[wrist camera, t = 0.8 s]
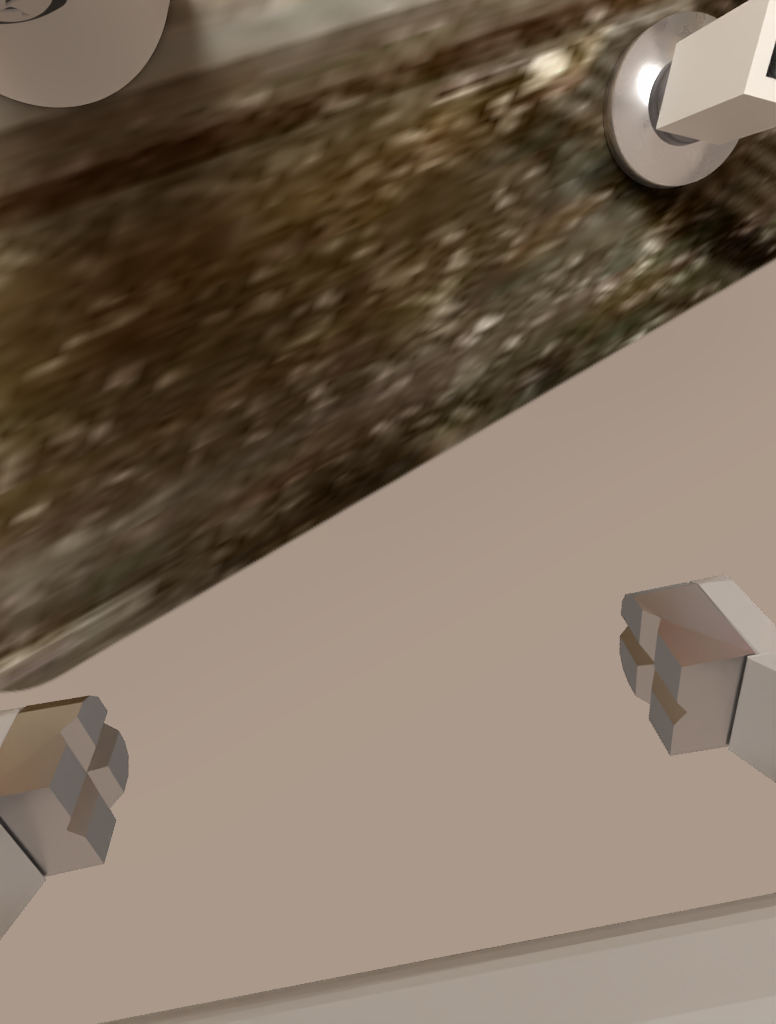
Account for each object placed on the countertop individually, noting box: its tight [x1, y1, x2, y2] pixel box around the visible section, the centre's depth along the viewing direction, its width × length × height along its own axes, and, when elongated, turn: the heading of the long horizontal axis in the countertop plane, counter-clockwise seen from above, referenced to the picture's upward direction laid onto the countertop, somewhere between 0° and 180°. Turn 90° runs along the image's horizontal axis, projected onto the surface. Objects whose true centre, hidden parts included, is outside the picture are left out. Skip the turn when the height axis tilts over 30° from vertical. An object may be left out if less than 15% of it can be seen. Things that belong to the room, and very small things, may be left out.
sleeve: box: [656, 0, 776, 145], centre depth 37 cm, size 5×5×8 cm
